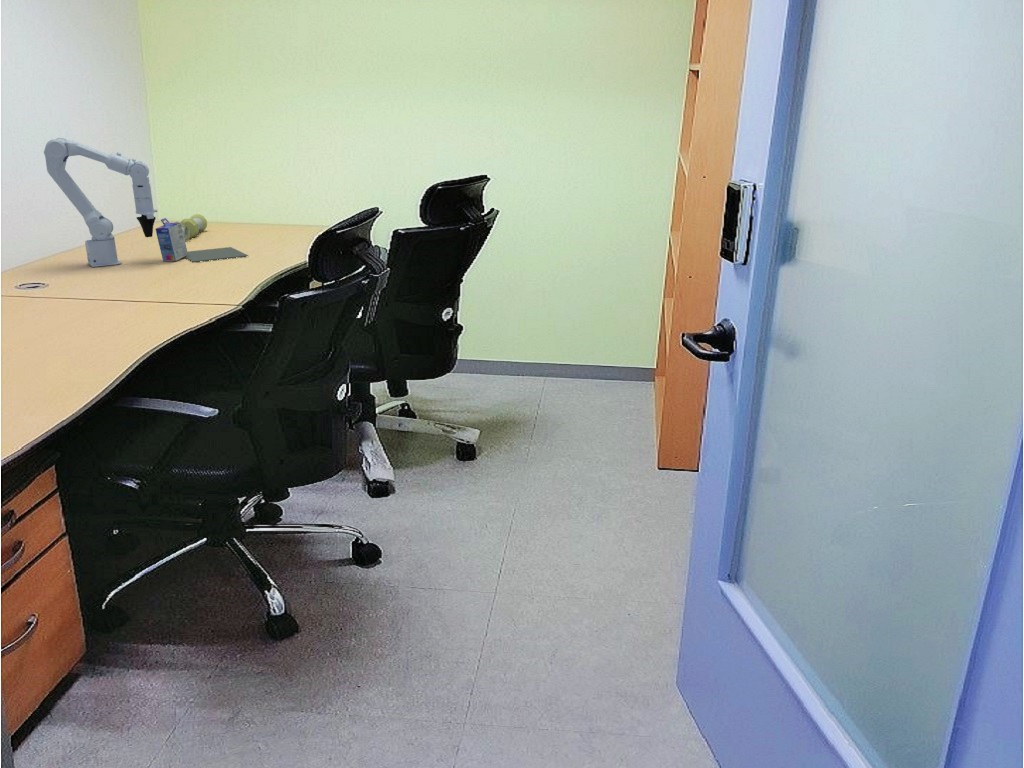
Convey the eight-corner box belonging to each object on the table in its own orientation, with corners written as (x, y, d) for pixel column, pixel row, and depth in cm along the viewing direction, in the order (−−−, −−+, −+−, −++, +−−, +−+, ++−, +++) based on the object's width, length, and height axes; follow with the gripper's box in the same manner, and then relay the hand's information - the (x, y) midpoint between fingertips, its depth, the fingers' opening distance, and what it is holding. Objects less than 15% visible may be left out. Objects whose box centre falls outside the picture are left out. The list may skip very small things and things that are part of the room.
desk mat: (193, 262, 296) (192, 261, 296) (177, 253, 312) (177, 252, 311) (248, 256, 307) (248, 255, 307) (230, 248, 323) (230, 247, 322)
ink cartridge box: (174, 255, 307) (166, 216, 301) (188, 255, 306) (181, 215, 301) (161, 261, 298) (153, 221, 292) (176, 261, 297) (168, 221, 292)
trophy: (188, 213, 357) (167, 223, 329) (206, 213, 358) (186, 223, 330) (191, 232, 360) (170, 244, 332) (208, 232, 361) (189, 243, 332)
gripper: (160, 199, 287) (165, 238, 291) (150, 194, 298) (155, 232, 302) (138, 200, 283) (144, 240, 287) (129, 196, 294) (134, 234, 299)
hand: (148, 236), depth 295 cm, fingers closed
